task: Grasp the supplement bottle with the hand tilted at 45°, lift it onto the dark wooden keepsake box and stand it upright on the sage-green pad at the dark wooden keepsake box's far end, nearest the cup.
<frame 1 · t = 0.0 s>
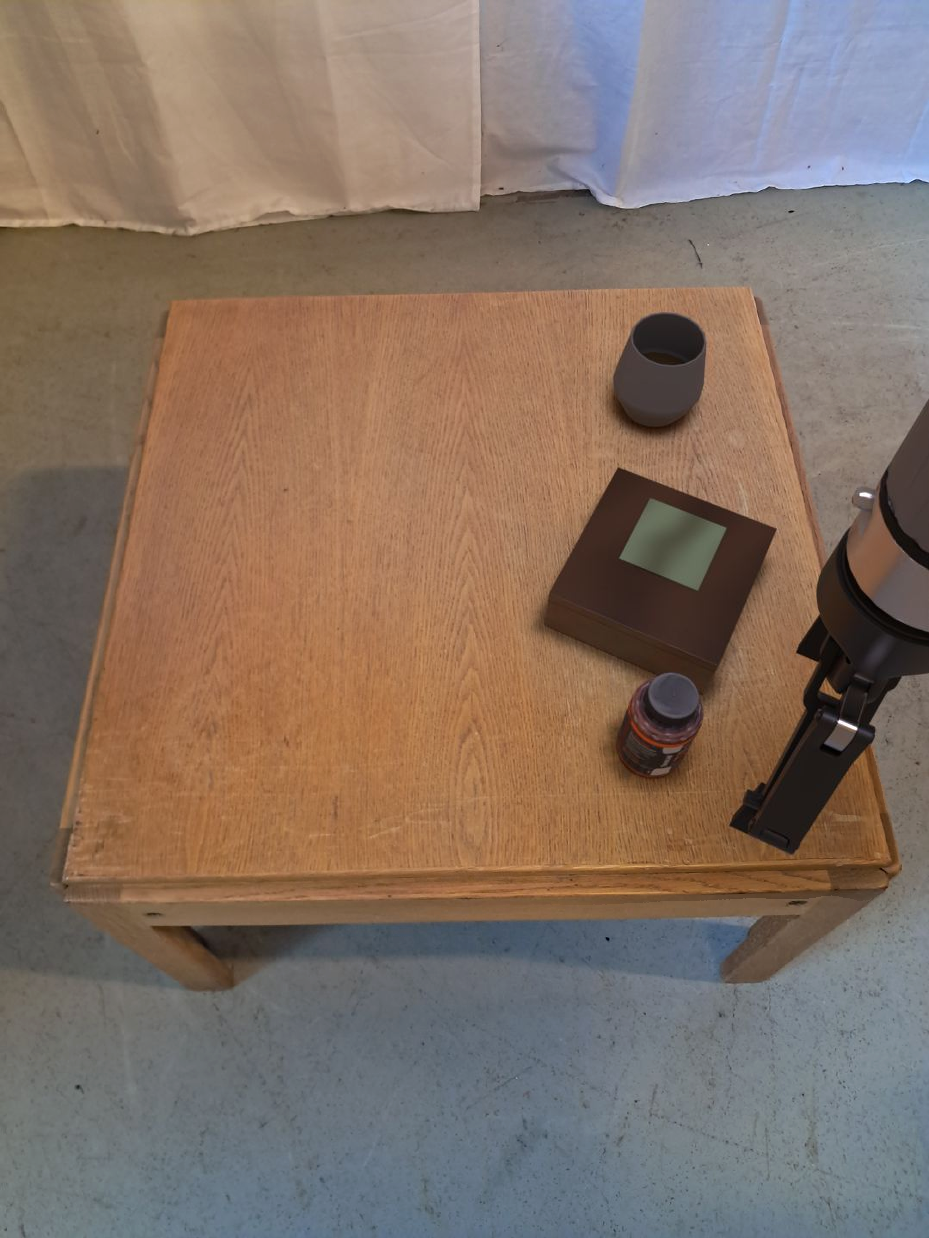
hand: (785, 739, 60), 20 cm above the table, tool pointing down, fingers open, 13 cm apart
supplement bottle: (649, 748, 81), on the table
dark wooden keepsake box: (653, 593, 88), on the table
cup: (651, 408, 100), on the table
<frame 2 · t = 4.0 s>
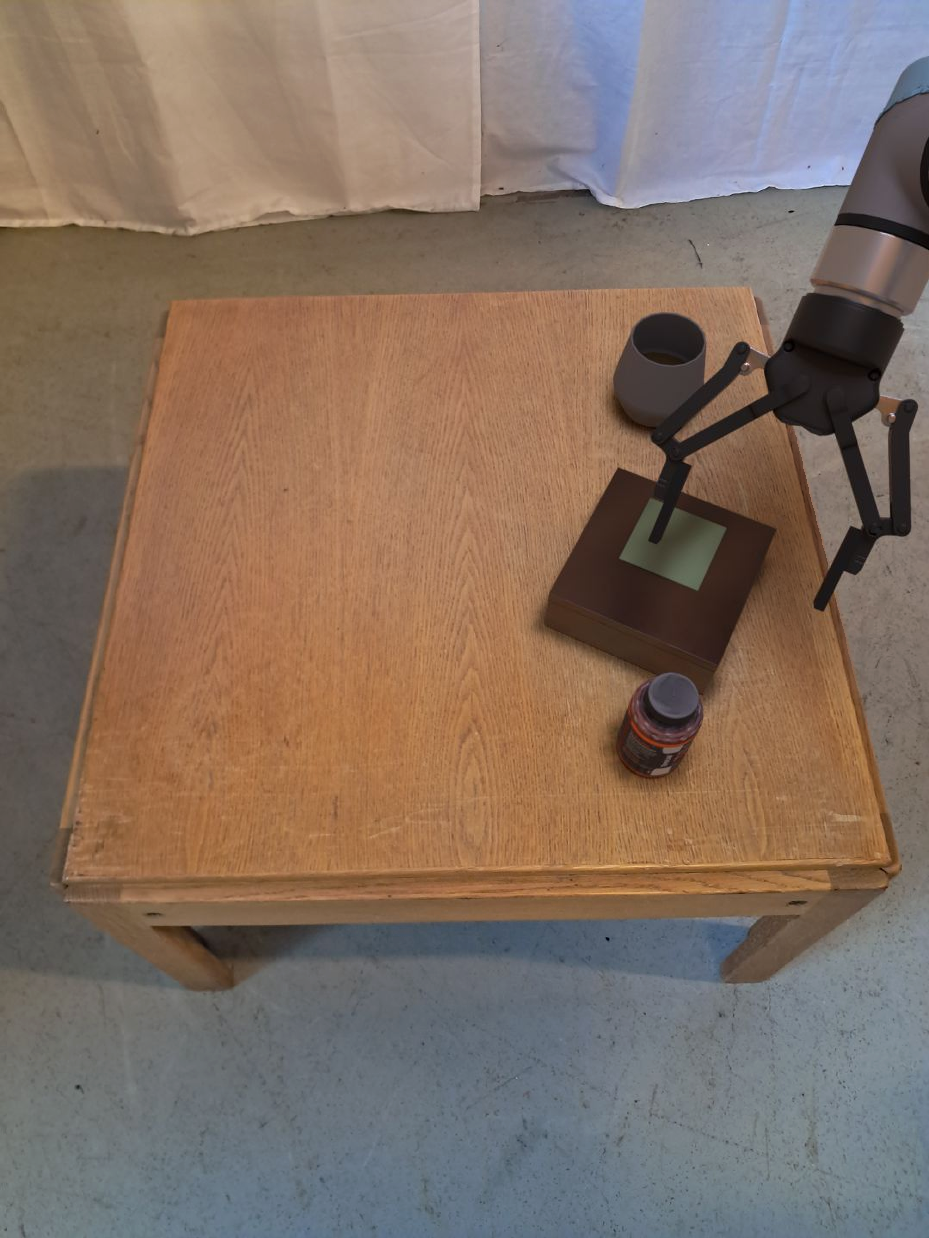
hand: (734, 573, 72), 15 cm above the table, tool tilted 45°, fingers open, 13 cm apart
nothing on the table moved.
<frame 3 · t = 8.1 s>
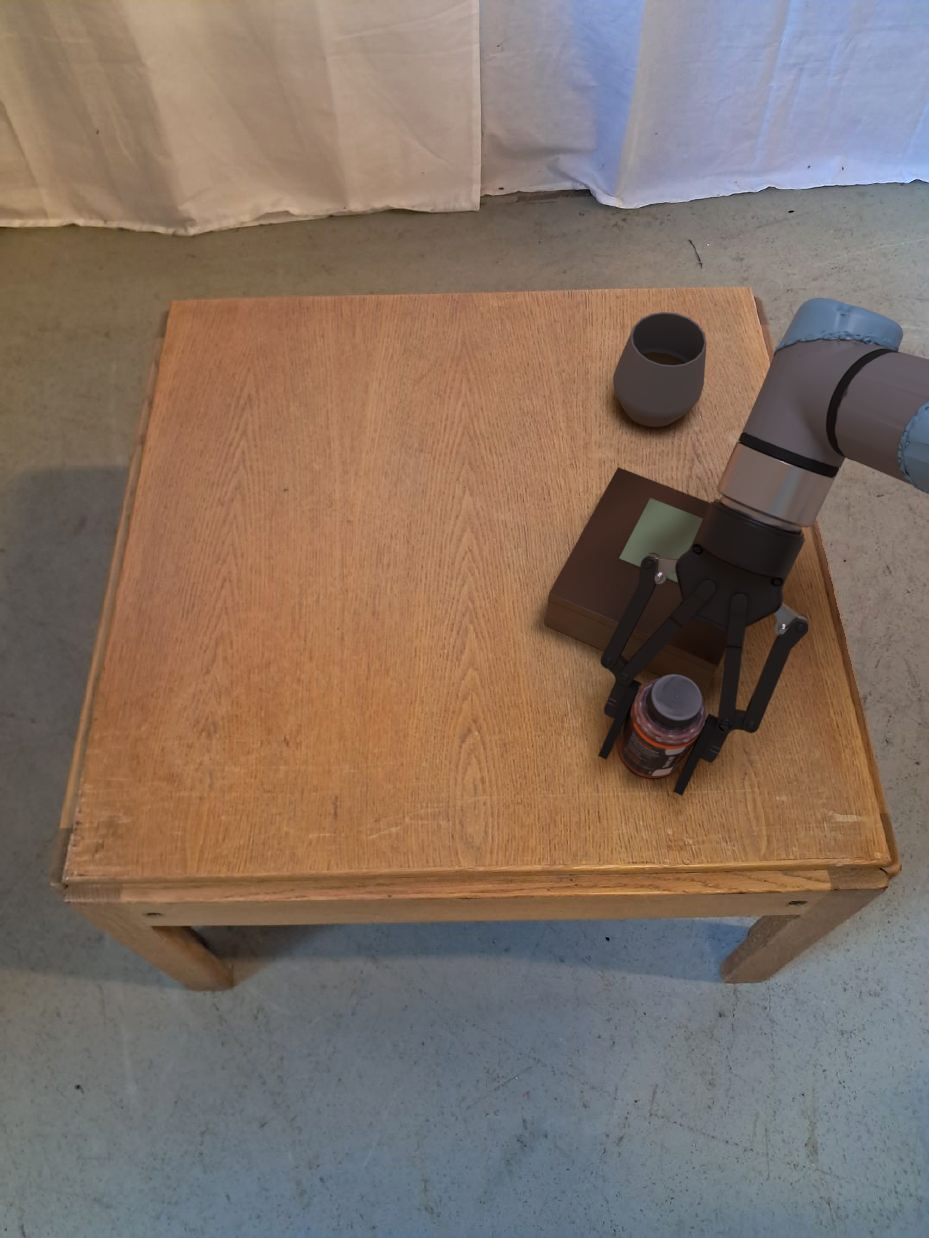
hand: (642, 769, 76), 4 cm above the table, tool tilted 45°, fingers closed on supplement bottle, 6 cm apart
supplement bottle: (649, 748, 81), on the table, touching gripper
everything else where it was.
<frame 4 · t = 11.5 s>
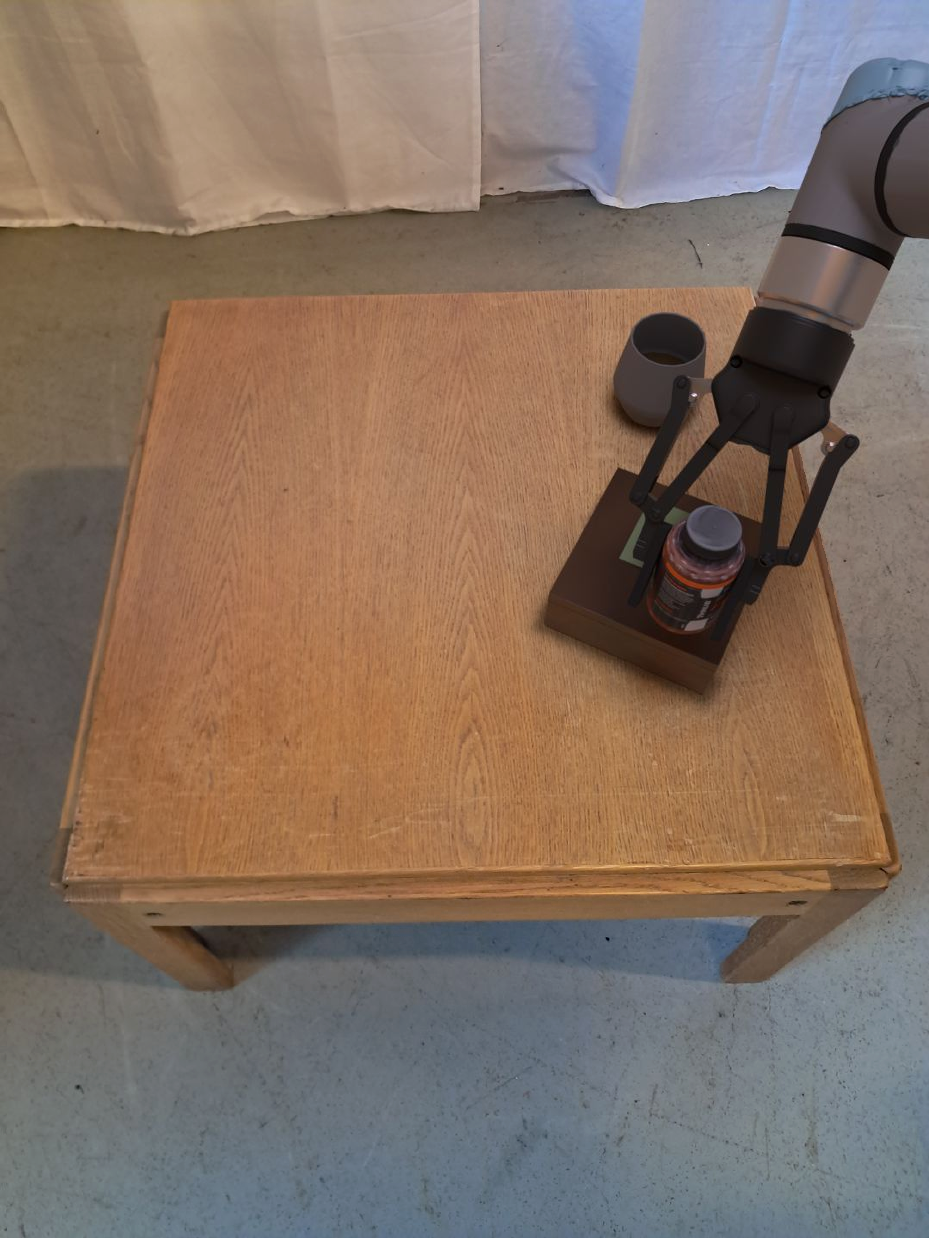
hand: (674, 619, 70), 15 cm above the table, tool tilted 45°, fingers closed on supplement bottle, 6 cm apart
supplement bottle: (681, 606, 75), point 11 cm above the table, touching gripper
everything else where it was.
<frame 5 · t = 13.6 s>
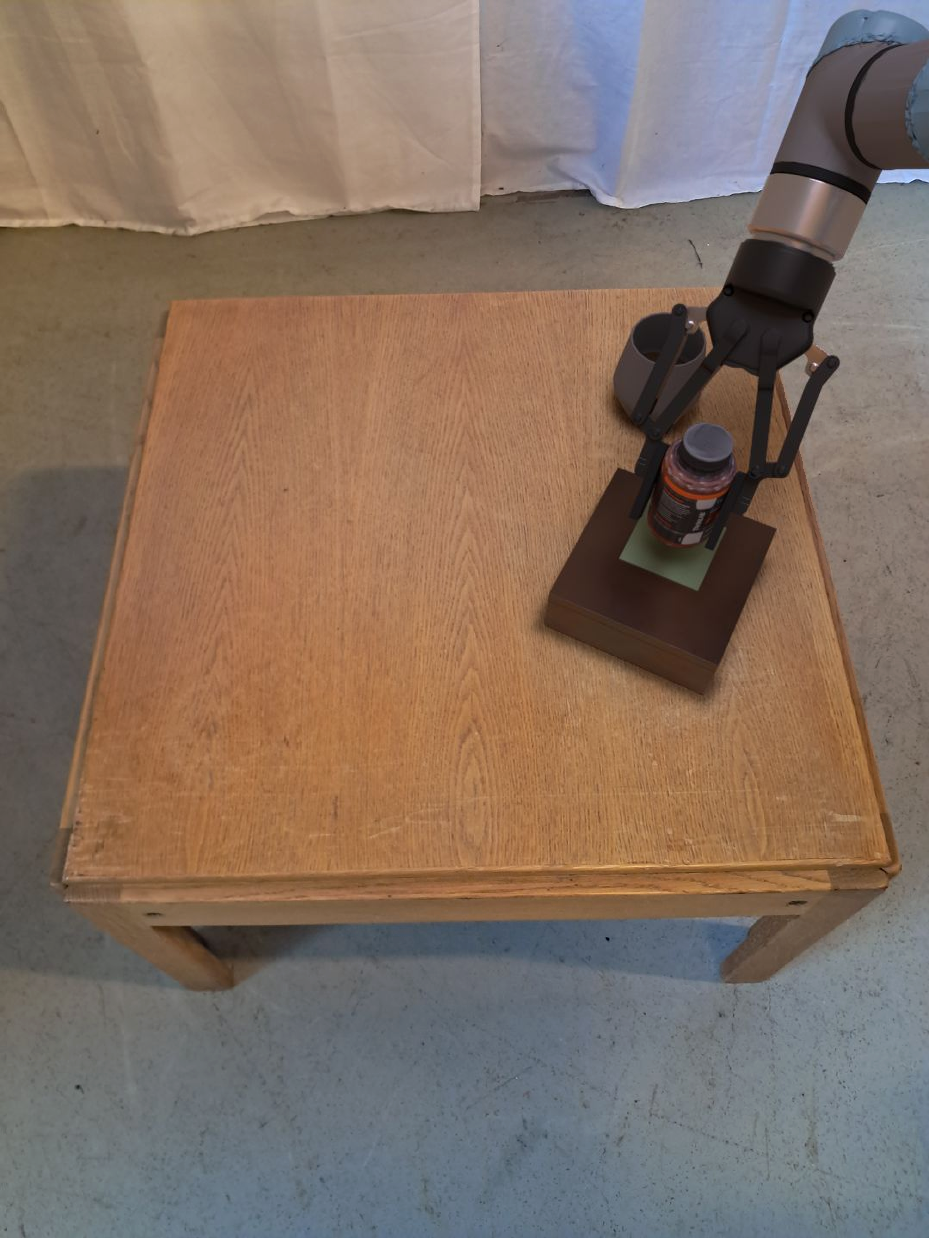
hand: (672, 531, 77), 13 cm above the table, tool tilted 45°, fingers closed on supplement bottle, 6 cm apart
supplement bottle: (678, 524, 81), point 9 cm above the table, touching gripper
everything else where it was.
when the fingers open (10 cm above the table, at t = 14.8 s): supplement bottle stays where it is, resting on dark wooden keepsake box.
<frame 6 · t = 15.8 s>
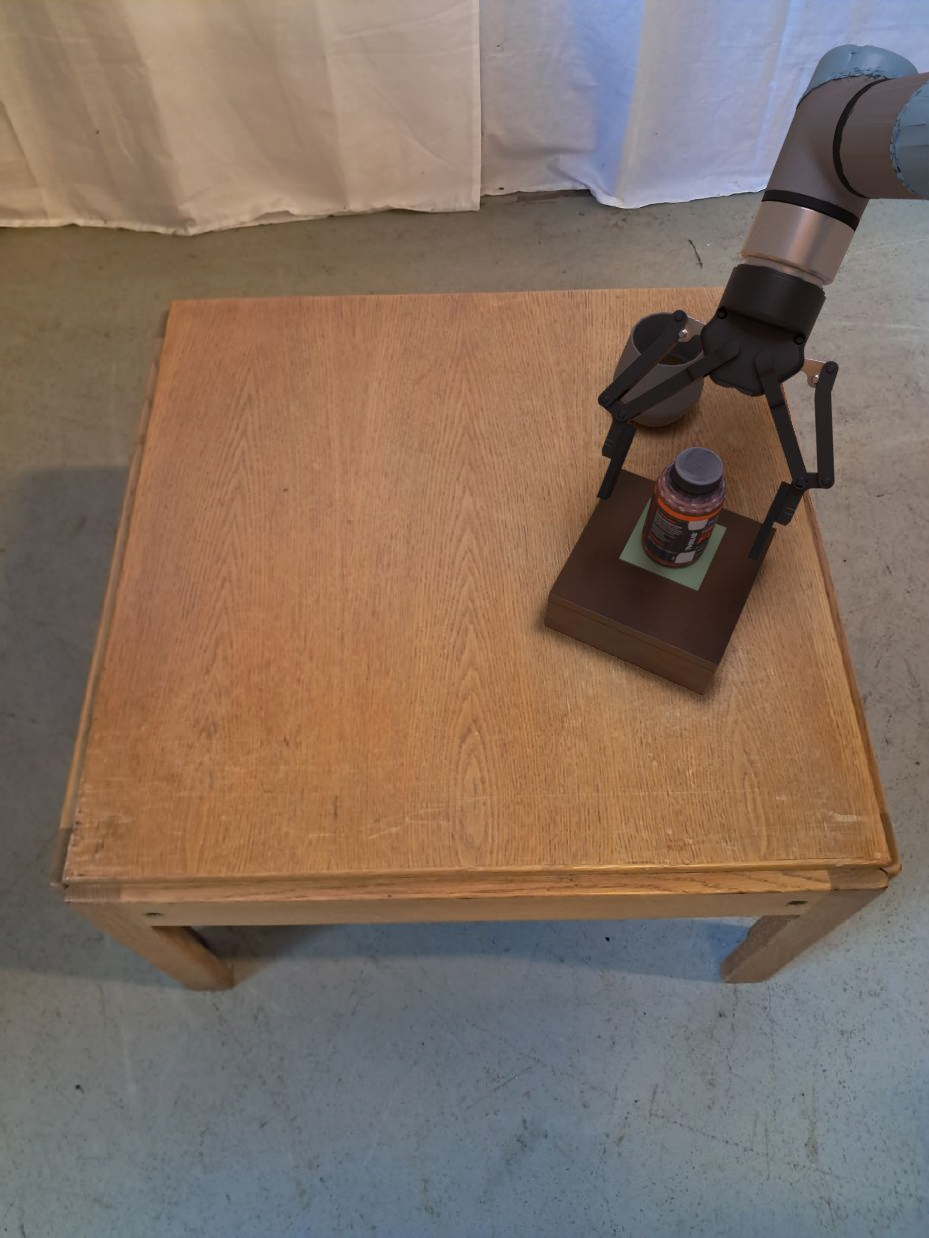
hand: (676, 526, 78), 12 cm above the table, tool tilted 45°, fingers open, 13 cm apart
supplement bottle: (672, 543, 84), point 6 cm above the table, touching dark wooden keepsake box
everything else where it was.
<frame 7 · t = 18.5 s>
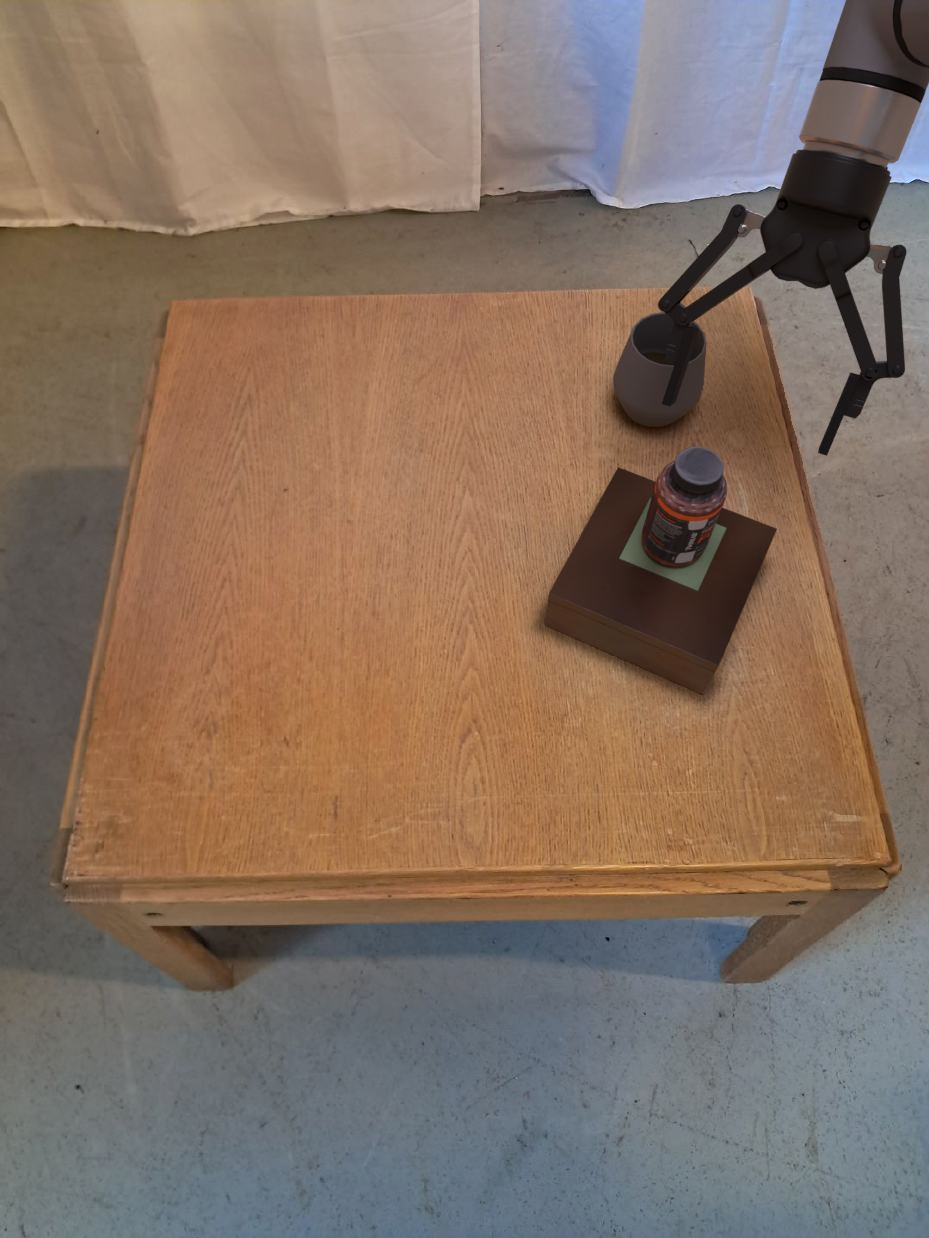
hand: (743, 427, 78), 16 cm above the table, tool tilted 35°, fingers open, 13 cm apart
nothing on the table moved.
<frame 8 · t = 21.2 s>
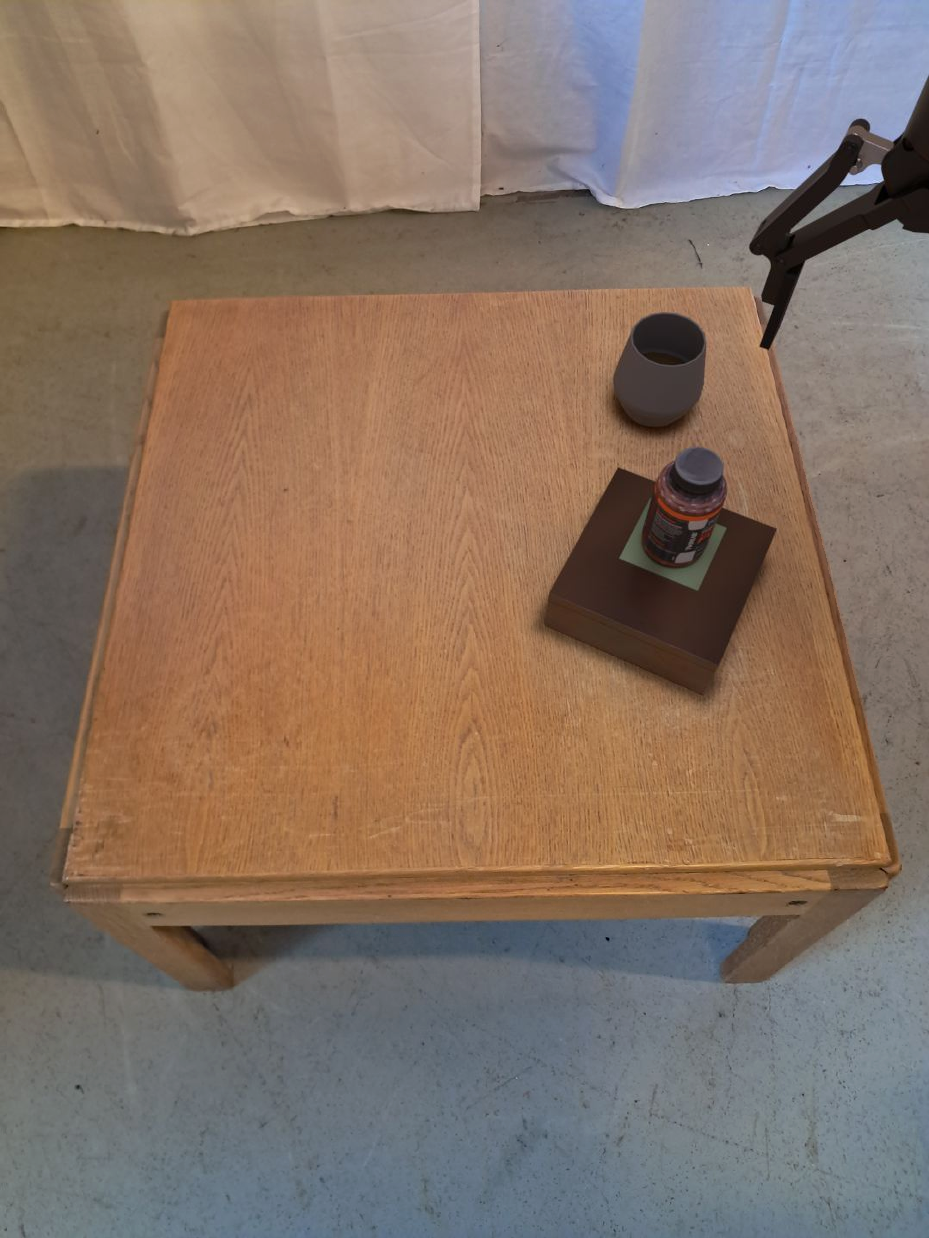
hand: (859, 367, 67), 27 cm above the table, tool pointing down, fingers open, 13 cm apart
nothing on the table moved.
at the end: supplement bottle inside the target area on the dark wooden keepsake box (0.1 cm from its centre), point 6.0 cm above the dark wooden keepsake box's base; supplement bottle tilted 0°; supplement bottle 21.9 cm from the cup (horizontally) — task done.
